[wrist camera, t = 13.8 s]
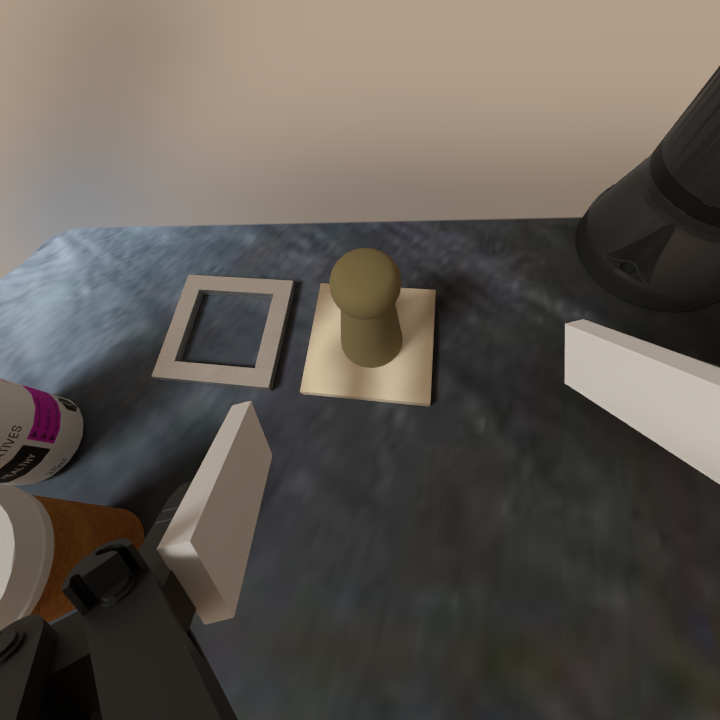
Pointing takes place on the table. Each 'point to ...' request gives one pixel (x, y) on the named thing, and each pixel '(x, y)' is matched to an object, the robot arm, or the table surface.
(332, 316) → the birch board
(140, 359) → the table surface
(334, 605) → the table surface
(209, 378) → the shaker dock
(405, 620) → the table surface
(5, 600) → the disposable coffee cup
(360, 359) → the cork
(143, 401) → the table surface
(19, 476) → the supplement can
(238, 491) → the robot arm
